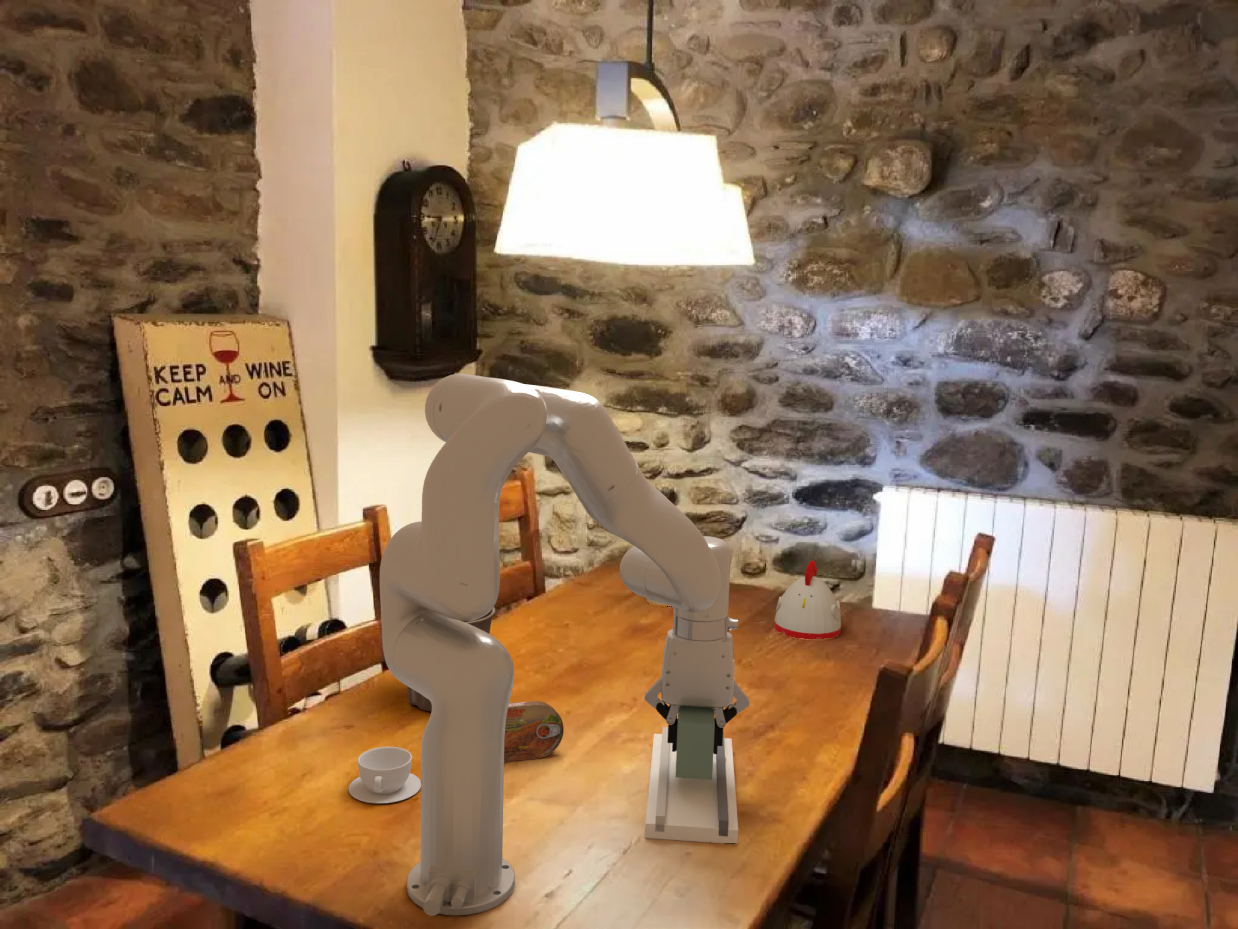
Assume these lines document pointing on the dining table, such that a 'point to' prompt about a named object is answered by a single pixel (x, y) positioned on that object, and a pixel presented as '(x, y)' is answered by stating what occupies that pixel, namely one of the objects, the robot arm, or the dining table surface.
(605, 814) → the dining table surface
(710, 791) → the white railed tray
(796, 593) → the kitchen timer
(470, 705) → the robot arm
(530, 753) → the tin
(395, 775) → the teacup
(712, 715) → the tea box
